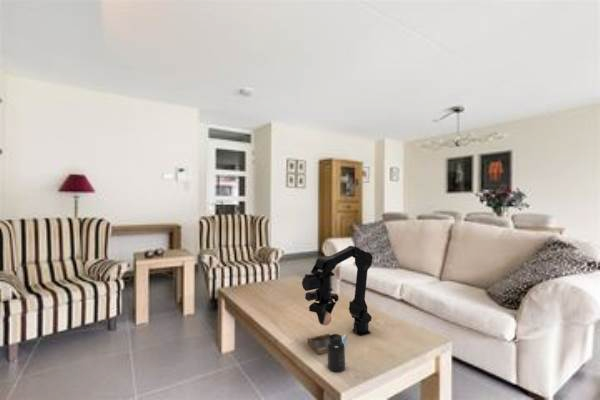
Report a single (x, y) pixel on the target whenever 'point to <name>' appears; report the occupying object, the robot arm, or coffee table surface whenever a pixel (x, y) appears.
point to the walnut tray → (319, 343)
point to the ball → (326, 319)
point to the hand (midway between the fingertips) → (324, 321)
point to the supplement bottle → (336, 353)
